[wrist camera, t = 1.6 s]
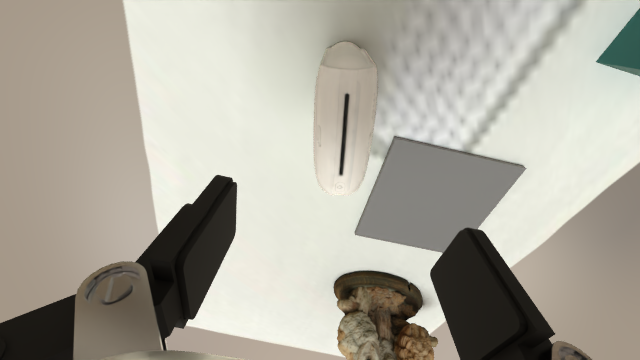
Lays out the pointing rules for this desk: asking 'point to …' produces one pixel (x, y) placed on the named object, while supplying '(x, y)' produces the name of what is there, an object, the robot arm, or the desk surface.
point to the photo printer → (344, 117)
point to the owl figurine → (380, 318)
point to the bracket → (625, 48)
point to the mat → (433, 194)
